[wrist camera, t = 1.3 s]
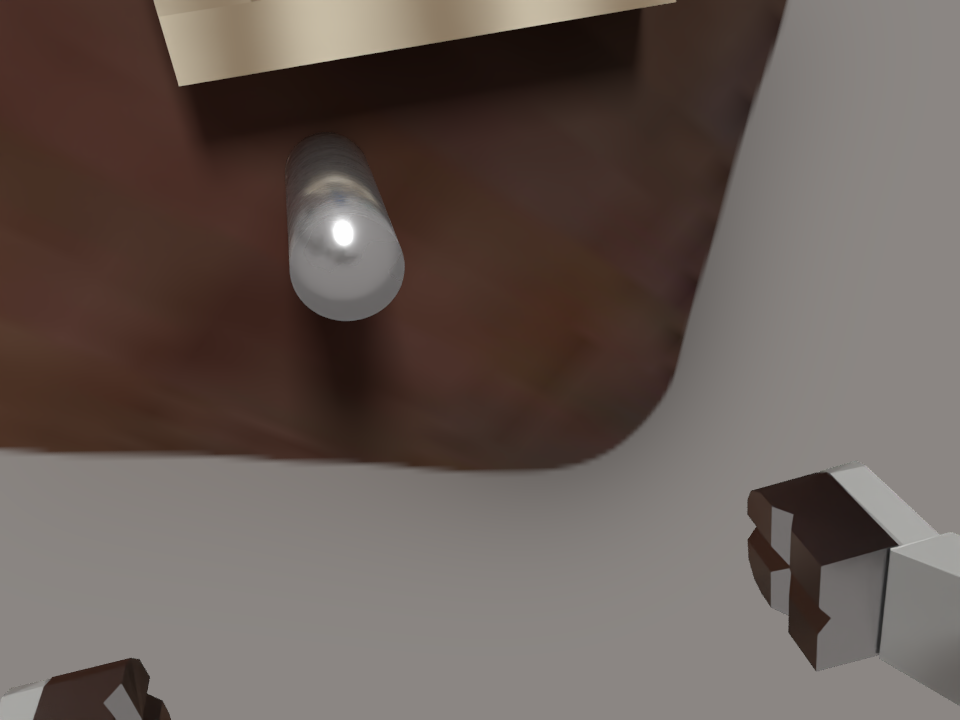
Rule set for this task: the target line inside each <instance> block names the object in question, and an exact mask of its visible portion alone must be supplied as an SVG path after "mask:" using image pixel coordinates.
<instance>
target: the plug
mask: <svg viewBox="0 0 960 720" xmlns="http://www.w3.org/2000/svg"><path fill="white" fill-rule="evenodd" d="M285 183H286V203H287V223H288V243H289V263H290V276H291V281H292V284H293V287H294V289H295V291H296V293H297V295H298V296H299V298H300V299H301V301H302V302H303V303H304V304H305V305H306V306H307V307H309V308H310V309H311V310H312V311H314V312H316V313H317V314H319V315H321V316H323V317H326V318H329V319H333V320H338V321H354V320H360V319H364V318H367V317H369V316H372V315H374V314H376V313H378V312H379V311H381V310H382V309H384V308H385V307H386V306H387V305H388V304H389V303H390V302H391V301H392V300H393V299H394V297H395V296H396V294H397V293H398V291H399V289H400V287H401V284H402V281H403V277H404V257H403V254H402V250H401V248H400V245H399V242H398V240H397V237H396V235H395V232H394V229H393V227H392V224H391V222H390V219H389V217H388V214H387V211H386V209H385V206H384V204H383V201H382V198H381V196H380V193H379V191H378V188H377V185H376V183H375V180H374V178H373V175H372V172H371V170H370V167H369V165H368V162H367V160H366V157H365V155H364V153H363V152H362V150H361V149H360V148H359V147H358V146H357V145H356V143H354V142H353V141H352V140H350V139H349V138H347V137H345V136H343V135H340V134H337V133H332V132H321V133H315V134H312V135H310V136H307V137H305V138H304V139H302V140H301V141H300V142H298V143H297V144H296V145H295V146H294V148H293V149H292V150H291V152H290V154H289V156H288V158H287V161H286V166H285Z"/></svg>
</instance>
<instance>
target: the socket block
mask: <svg viewBox="0 0 960 720" xmlns="http://www.w3.org/2000/svg"><path fill="white" fill-rule="evenodd" d="M673 2H676V0H154V4H155V7H156V10H157V14H158V17H159V20H160V24H161V27H162V30H163V34H164V37H165V41H166V44H167V47H168V51H169V54H170V57H171V61H172V64H173V67H174V71H175V74H176V78H177V81H178V84H179V86H184V85H190V84H196V83H202V82H208V81H214V80H220V79H226V78H231V77H237V76H243V75H249V74H255V73H261V72H267V71H273V70H279V69H284V68H290V67H296V66H302V65H308V64H314V63H320V62H326V61H331V60H337V59H343V58H349V57H355V56H361V55H367V54H373V53H379V52H384V51H390V50H396V49H402V48H408V47H414V46H420V45H426V44H432V43H437V42H443V41H449V40H455V39H461V38H467V37H473V36H479V35H484V34H490V33H496V32H502V31H508V30H514V29H520V28H526V27H532V26H537V25H543V24H549V23H555V22H561V21H567V20H573V19H579V18H584V17H590V16H596V15H602V14H608V13H614V12H620V11H626V10H632V9H637V8H643V7H649V6H655V5H661V4H667V3H673Z"/></svg>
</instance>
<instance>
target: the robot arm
mask: <svg viewBox="0 0 960 720" xmlns="http://www.w3.org/2000/svg"><path fill="white" fill-rule="evenodd" d="M747 508H748V509H747V514H748V516H749V517H750V519H751V520H752V521H753V523H754V524H755V525H756V528H755V530H754V531H753V533H752V534H751V536H750V537H749V538H748V558H749V562H750V566H751V569H752V573H753V576H754V579H755V581H756V583H757V585H758V587H759V590H760V591H761V593H762V595H763V596H764V598H765V599H766V601H767V602H768V604H769V605H770V607H771V608H774V609H775V610H778V611H780V612H782V613H784V614H786V615H788V616H789V626H788V627H789V629H788V632H789V634H790V635H791V637H792V638H793V640H794V641H795V642H796V644H797V645H798V647H799V648H800V649H801V651H802V652H803V653H804V655H805V657H806V658H807V659H808V661H809V662H810V663H811V665H812V666H813V668H814V669H815V671H820V670H824V669H828V668H832V667H835V666H839V665H843V664H847V663H851V662H854V661H858V660H862V659H866V658H870V657H874V656H877V655H879V659H881V660H882V661H884V662H886V663H888V664H889V665H891V666H893V667H895V668H896V669H898V670H899V671H901V672H903V673H905V674H906V675H908V676H910V677H911V678H913V679H915V680H916V681H918V682H920V683H922V684H923V685H925V686H927V687H928V688H930V689H932V690H934V691H935V692H937V693H939V694H940V695H942V696H944V697H945V698H947V699H949V700H951V701H952V702H954V703H956V704H957V705H959V706H960V535H958V534H955V533H952V532H949V533H946V534H942V535H940V534H939V533H938V532H936V531H935V530H934V529H933V528H932V527H931V526H930V525H929V524H928V523H927V522H926V521H925V520H924V519H922V518H921V516H919V515H918V514H917V513H916V512H915V511H914V510H913V509H912V508H911V507H910V506H909V505H908V504H906V503H905V502H904V501H903V500H902V499H901V498H900V497H899V496H898V495H897V494H896V493H895V492H894V491H893V490H892V489H890V488H889V487H888V486H887V485H886V484H885V483H884V482H883V481H882V480H880V478H879V477H878V476H876V475H875V474H874V473H873V472H872V471H871V470H870V469H869V468H868V467H867V466H866V465H865V464H863V463H860V462H857V461H854V462H850V463H847V464H844V465H840V466H836V467H833V468H829V469H826V470H822V471H820V472H819V473H813V474H810V475H806V476H802V477H799V478H795V479H792V480H788V481H784V482H781V483H777V484H774V485H770V486H766V487H763V488H759V489H756V490H752V491H751V492H750V494H749V497H748V502H747ZM149 679H150V676H149V675H148V673H147V671H146V669H145V668H144V666H143V664H142V663H141V661H140V659H135V658H129V659H125V660H120V661H116V662H112V663H108V664H104V665H100V666H96V667H92V668H88V669H84V670H80V671H76V672H71V673H67V674H63V675H60V676H55V677H52V678H51V679H47V680H43V681H39V682H35V683H30V684H26V685H22V686H18V687H13V688H11V689H10V690H9V691H8V692H7V693H6V694H5V695H4V696H3V697H2V698H1V700H0V720H171V718H170V714H169V712H168V710H167V708H166V706H165V705H164V703H163V701H162V700H160V699H158V698H155V697H154V696H151V695H149V694H147V690H148V685H149Z"/></svg>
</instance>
